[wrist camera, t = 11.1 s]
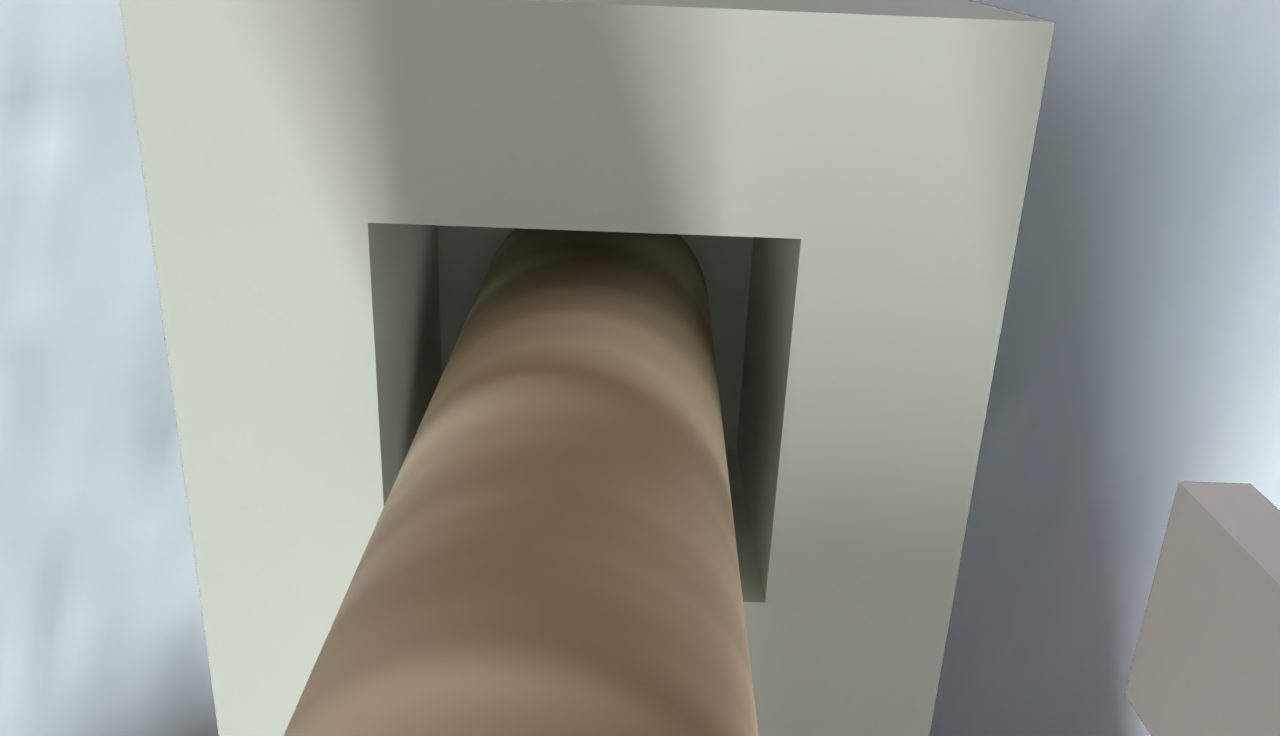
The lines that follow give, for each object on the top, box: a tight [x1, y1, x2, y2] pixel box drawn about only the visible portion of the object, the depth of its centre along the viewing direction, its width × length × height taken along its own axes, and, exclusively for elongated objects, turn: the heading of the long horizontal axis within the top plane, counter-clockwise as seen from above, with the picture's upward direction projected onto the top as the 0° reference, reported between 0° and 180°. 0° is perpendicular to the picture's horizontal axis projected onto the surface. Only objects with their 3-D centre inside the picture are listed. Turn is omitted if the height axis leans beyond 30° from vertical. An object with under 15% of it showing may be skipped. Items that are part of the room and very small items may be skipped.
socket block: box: [120, 0, 1055, 736], centre depth 18 cm, size 11×11×6 cm
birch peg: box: [284, 228, 758, 736], centre depth 13 cm, size 4×4×15 cm
